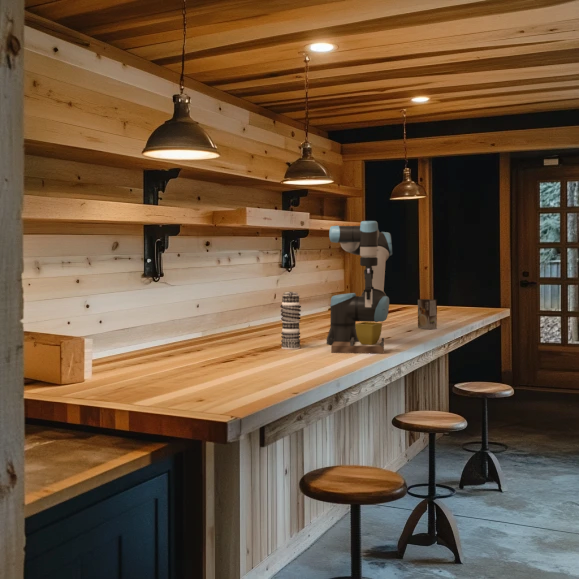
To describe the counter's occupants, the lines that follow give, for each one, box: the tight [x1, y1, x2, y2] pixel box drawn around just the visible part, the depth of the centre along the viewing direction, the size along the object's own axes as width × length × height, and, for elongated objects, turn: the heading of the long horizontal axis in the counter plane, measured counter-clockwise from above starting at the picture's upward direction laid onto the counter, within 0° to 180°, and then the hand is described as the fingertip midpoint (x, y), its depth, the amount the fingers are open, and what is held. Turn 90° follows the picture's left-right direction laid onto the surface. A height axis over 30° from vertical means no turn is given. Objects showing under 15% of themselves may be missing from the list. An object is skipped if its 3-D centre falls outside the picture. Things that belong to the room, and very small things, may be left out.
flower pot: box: [355, 321, 383, 345], centre depth 317 cm, size 9×9×9 cm
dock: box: [330, 337, 385, 355], centre depth 319 cm, size 22×14×5 cm, turn 82°
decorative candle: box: [280, 291, 302, 350], centre depth 327 cm, size 9×9×25 cm
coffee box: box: [417, 298, 438, 330], centre depth 407 cm, size 9×6×16 cm
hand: (368, 305), depth 322 cm, fingers open, 13 cm apart
